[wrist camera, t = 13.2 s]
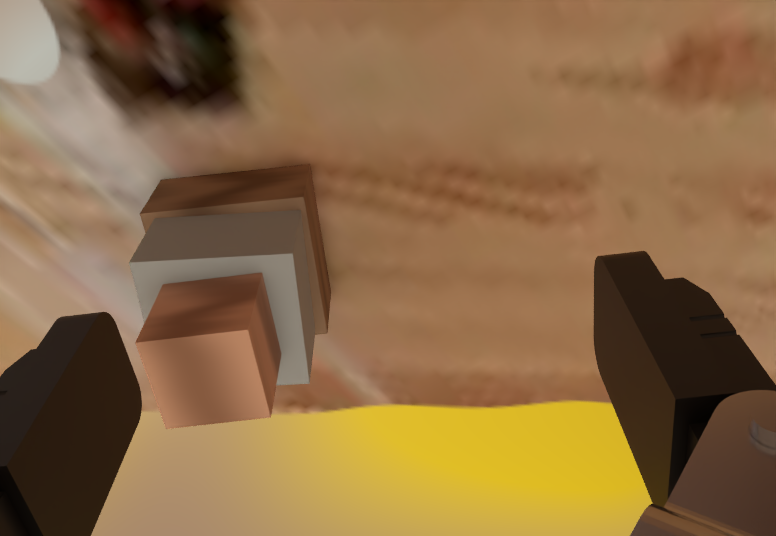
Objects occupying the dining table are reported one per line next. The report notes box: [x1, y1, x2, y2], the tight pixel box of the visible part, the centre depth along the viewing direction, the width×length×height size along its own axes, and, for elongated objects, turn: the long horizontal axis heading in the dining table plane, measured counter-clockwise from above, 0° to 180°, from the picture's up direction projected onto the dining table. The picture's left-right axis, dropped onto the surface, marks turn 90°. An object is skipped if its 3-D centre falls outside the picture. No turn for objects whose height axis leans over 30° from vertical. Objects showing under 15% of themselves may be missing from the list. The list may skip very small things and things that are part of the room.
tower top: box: [129, 210, 315, 385], centre depth 40 cm, size 8×8×5 cm
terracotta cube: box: [136, 273, 282, 429], centre depth 36 cm, size 5×5×5 cm
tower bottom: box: [140, 164, 331, 335], centre depth 45 cm, size 9×9×5 cm
